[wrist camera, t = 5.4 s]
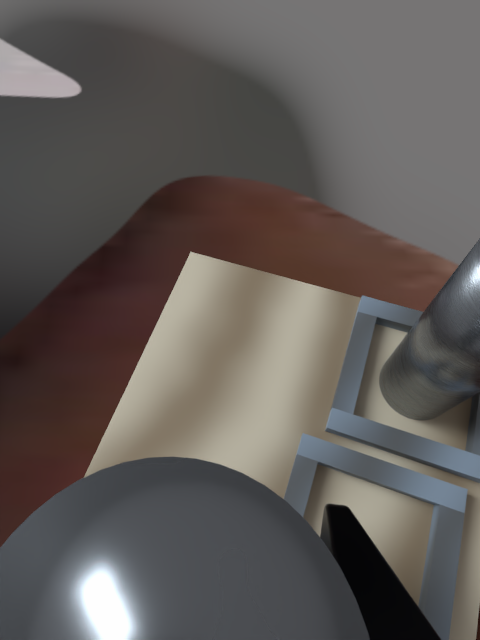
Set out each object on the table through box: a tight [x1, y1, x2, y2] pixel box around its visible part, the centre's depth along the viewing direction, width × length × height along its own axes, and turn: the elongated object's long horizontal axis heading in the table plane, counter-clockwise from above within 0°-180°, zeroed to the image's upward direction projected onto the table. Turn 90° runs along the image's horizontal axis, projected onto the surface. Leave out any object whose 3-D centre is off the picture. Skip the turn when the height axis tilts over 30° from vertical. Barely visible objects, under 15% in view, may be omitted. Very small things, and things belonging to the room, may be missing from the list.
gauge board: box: [84, 252, 480, 640], centre depth 18 cm, size 18×30×2 cm, turn 160°
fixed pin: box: [379, 239, 480, 420], centre depth 16 cm, size 4×4×11 cm
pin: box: [0, 456, 370, 640], centre depth 8 cm, size 4×4×11 cm
